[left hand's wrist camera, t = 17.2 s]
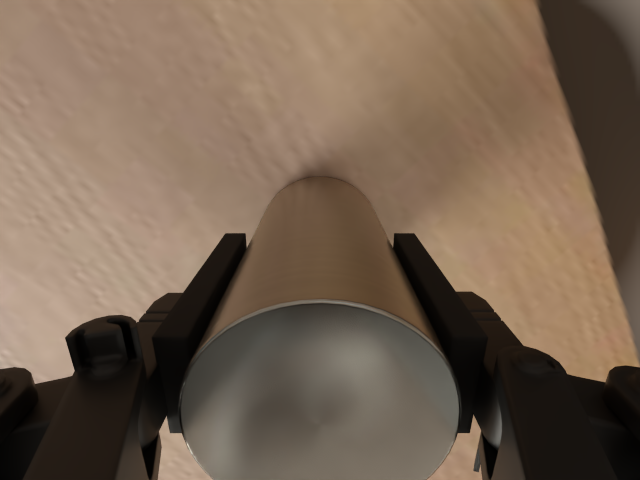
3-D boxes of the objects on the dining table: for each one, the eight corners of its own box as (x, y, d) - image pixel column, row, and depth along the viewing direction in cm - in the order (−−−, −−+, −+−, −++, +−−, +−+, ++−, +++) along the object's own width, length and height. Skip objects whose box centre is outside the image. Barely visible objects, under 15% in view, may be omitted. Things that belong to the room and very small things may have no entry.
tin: (365, 163, 16) (443, 267, 6) (388, 272, 18) (476, 495, 8) (246, 192, 17) (127, 337, 7) (280, 297, 19) (231, 536, 8)
